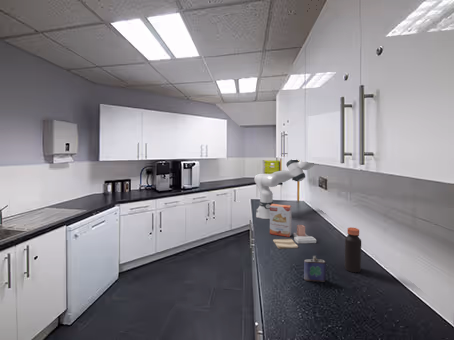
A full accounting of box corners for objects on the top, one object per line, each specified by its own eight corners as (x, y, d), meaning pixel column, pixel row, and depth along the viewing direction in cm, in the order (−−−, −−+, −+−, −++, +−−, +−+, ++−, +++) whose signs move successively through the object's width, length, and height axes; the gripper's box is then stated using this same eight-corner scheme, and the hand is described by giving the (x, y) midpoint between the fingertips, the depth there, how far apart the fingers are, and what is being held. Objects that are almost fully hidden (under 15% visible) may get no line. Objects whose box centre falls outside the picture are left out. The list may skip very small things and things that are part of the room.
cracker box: (269, 234, 154) (269, 205, 153) (271, 231, 159) (271, 203, 158) (289, 237, 148) (289, 207, 146) (291, 234, 153) (291, 205, 151)
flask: (304, 281, 97) (304, 257, 97) (303, 277, 100) (303, 254, 99) (326, 282, 96) (326, 258, 95) (324, 278, 99) (324, 255, 98)
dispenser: (290, 235, 151) (290, 232, 151) (307, 235, 152) (307, 231, 151) (297, 243, 137) (297, 240, 137) (316, 242, 138) (316, 239, 138)
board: (273, 240, 143) (273, 239, 142) (291, 240, 143) (291, 238, 143) (278, 248, 131) (278, 247, 131) (298, 247, 131) (298, 246, 131)
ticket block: (296, 236, 149) (297, 225, 149) (302, 236, 150) (302, 224, 149) (299, 238, 145) (299, 226, 145) (305, 238, 146) (305, 226, 145)
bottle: (353, 265, 110) (354, 226, 108) (364, 272, 103) (365, 231, 102) (341, 266, 109) (342, 227, 108) (351, 273, 102) (351, 232, 101)
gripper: (339, 149, 154) (331, 164, 150) (316, 153, 173) (309, 166, 168) (334, 143, 152) (326, 158, 148) (312, 147, 171) (304, 161, 167)
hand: (316, 162), depth 158 cm, fingers open, 8 cm apart
